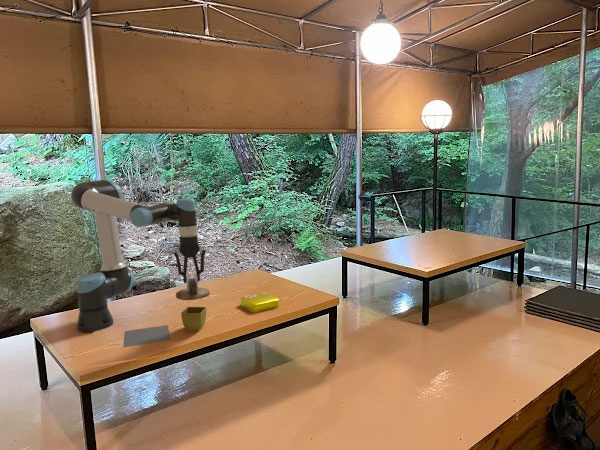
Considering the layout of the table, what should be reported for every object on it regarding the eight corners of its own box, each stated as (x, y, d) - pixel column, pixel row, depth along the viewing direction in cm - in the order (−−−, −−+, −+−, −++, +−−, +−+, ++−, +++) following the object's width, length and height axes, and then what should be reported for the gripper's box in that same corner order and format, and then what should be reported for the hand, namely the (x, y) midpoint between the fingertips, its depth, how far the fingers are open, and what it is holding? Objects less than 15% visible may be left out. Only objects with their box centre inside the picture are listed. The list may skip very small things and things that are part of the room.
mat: (123, 348, 188) (123, 347, 188) (125, 332, 205) (125, 331, 205) (170, 341, 194) (170, 340, 194) (168, 326, 211) (168, 325, 211)
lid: (177, 301, 194) (175, 287, 193) (175, 292, 208) (174, 278, 207) (211, 297, 198) (210, 283, 197) (207, 288, 212) (206, 275, 211)
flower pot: (208, 326, 210) (206, 306, 208) (202, 333, 201) (200, 313, 199) (188, 326, 210) (187, 306, 209) (182, 333, 202) (180, 313, 200)
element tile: (253, 314, 224) (253, 304, 223) (239, 305, 237) (238, 296, 236) (280, 307, 232) (280, 297, 232) (265, 299, 245) (265, 290, 244)
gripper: (169, 238, 193) (173, 294, 197) (208, 235, 198) (212, 289, 202) (168, 235, 200) (172, 289, 204) (206, 232, 205) (210, 285, 209)
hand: (192, 289), depth 203 cm, fingers closed on lid, 3 cm apart
